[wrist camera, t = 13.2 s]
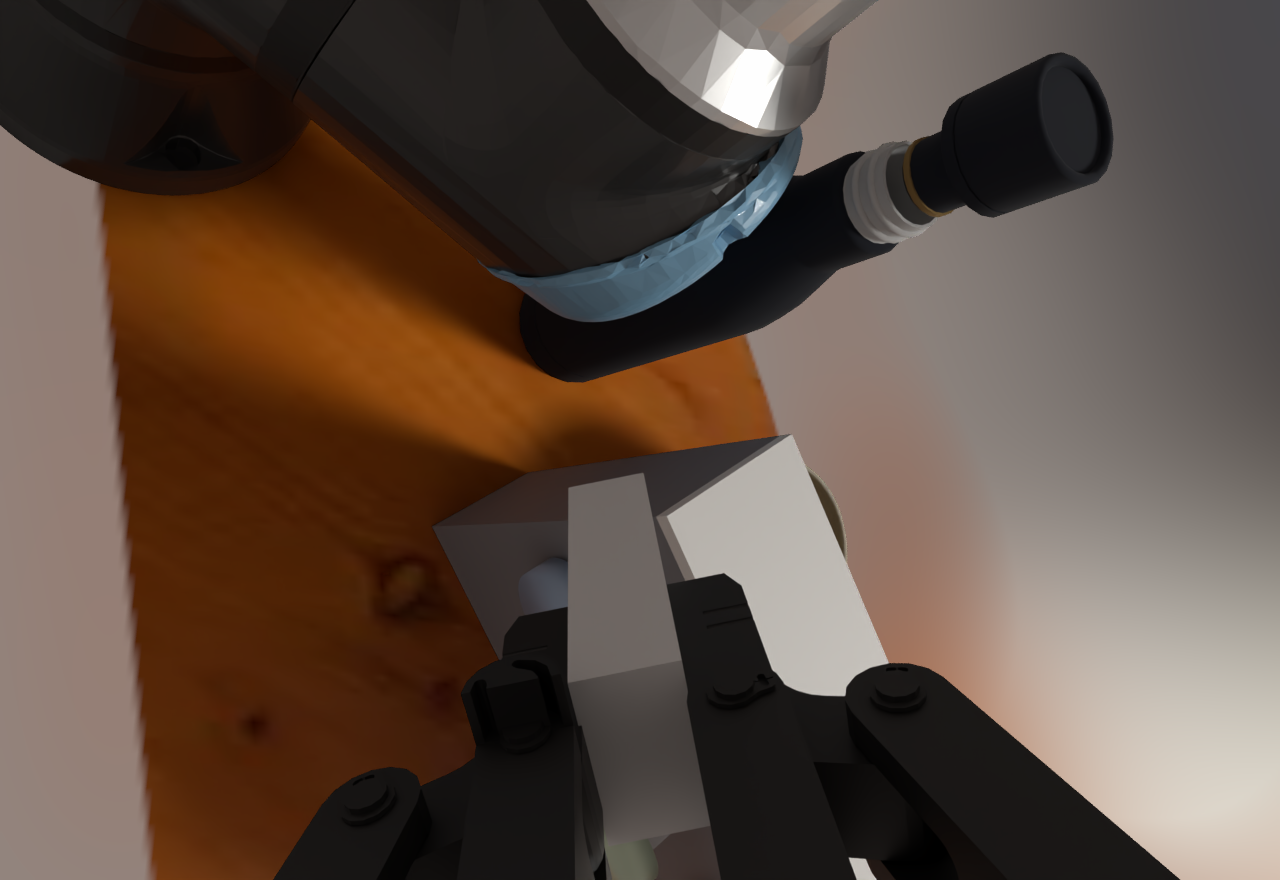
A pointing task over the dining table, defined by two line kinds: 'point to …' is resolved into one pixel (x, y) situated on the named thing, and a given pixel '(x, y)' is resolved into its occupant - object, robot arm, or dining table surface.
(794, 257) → the wine bottle
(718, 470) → the control panel
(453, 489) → the dining table surface
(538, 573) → the slate button
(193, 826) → the dining table surface
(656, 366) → the dining table surface
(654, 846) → the sage button
